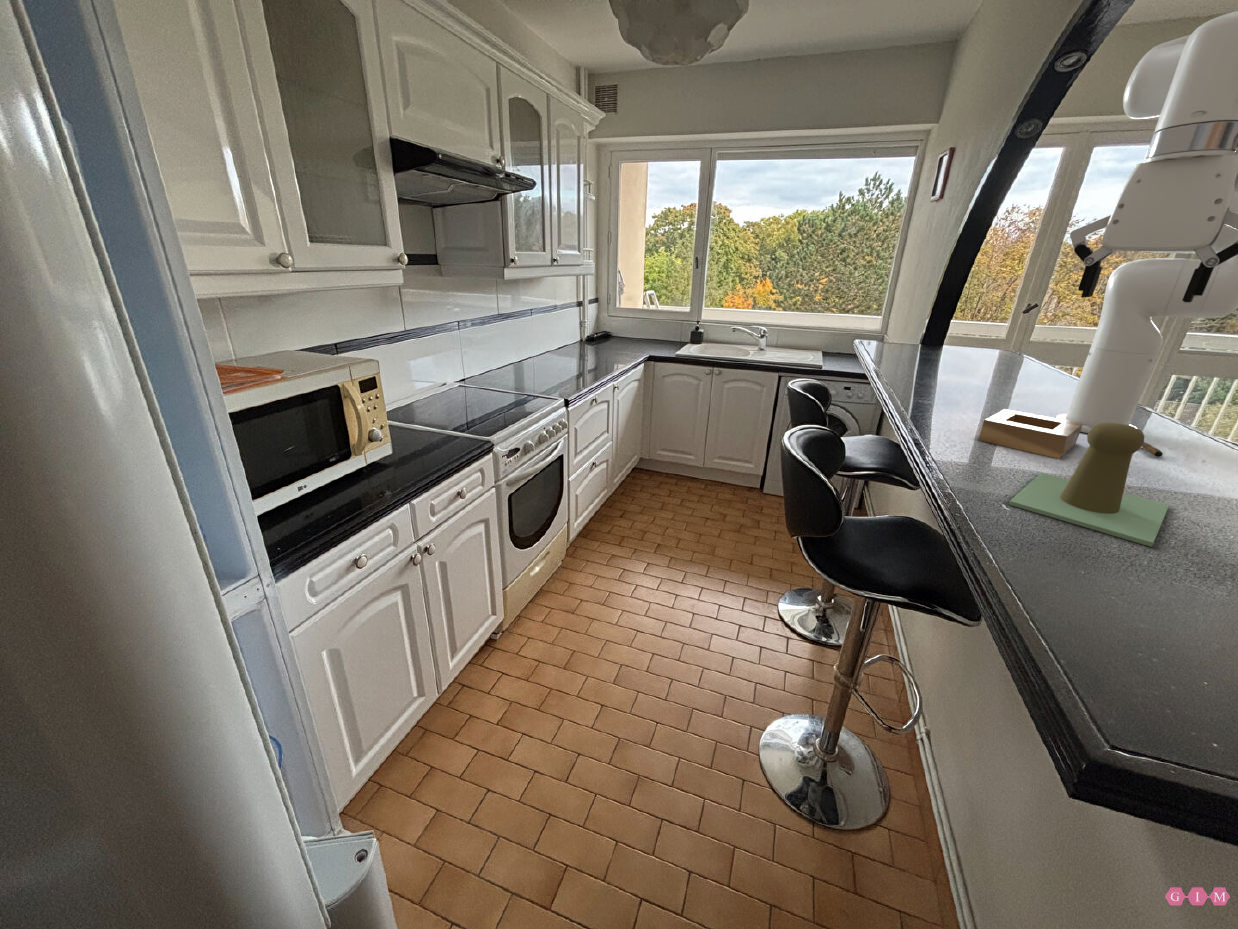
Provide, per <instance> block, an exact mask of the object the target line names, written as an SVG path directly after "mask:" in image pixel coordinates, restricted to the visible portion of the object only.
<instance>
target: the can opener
mask: <svg viewBox="0 0 1238 929" xmlns="http://www.w3.org/2000/svg"><path fill="white" fill-rule="evenodd" d="M1141 448H1142V449H1144V450H1146V451H1147V452H1148V453H1149V454H1150V455H1152V456H1154V457H1156V458H1161V457H1163V455H1164V453H1163V452H1162V451H1161V450H1160V449H1159V448H1157V447H1154V446H1153V445H1151V444H1150V443H1148V442H1146V441H1144V443H1143V445H1142V447H1141Z"/></svg>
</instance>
